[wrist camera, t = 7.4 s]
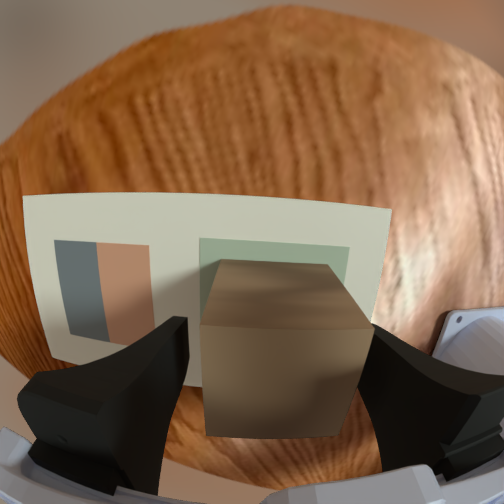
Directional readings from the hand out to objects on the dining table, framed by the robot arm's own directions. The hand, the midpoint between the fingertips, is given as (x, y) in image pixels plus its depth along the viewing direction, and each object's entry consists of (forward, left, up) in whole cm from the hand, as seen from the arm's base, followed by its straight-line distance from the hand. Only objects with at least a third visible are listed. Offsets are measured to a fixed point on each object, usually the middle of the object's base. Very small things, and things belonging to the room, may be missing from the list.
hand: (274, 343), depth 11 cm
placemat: (+5, 0, -3) cm, 5 cm away
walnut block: (0, 0, -3) cm, 3 cm away
